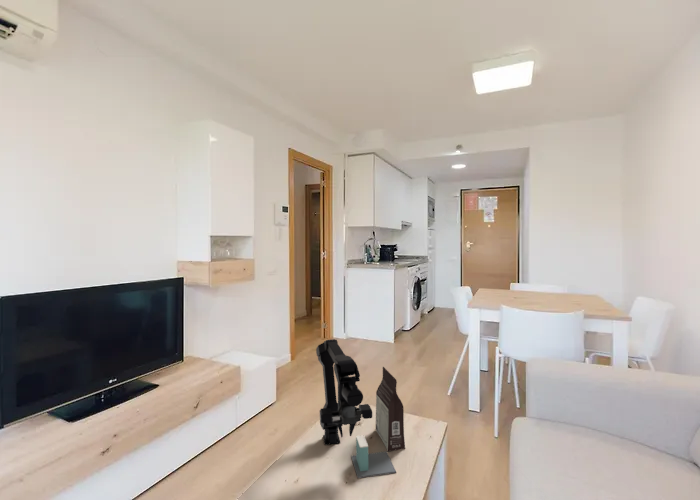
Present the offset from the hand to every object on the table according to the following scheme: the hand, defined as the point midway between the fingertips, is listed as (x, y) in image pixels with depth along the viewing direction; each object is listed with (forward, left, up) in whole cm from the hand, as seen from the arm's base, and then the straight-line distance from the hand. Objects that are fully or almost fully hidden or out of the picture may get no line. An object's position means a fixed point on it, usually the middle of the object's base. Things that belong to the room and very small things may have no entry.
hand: (346, 436), depth 128 cm
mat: (0, +10, -12) cm, 16 cm away
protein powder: (-15, +21, -12) cm, 29 cm away
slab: (0, +6, -11) cm, 13 cm away
